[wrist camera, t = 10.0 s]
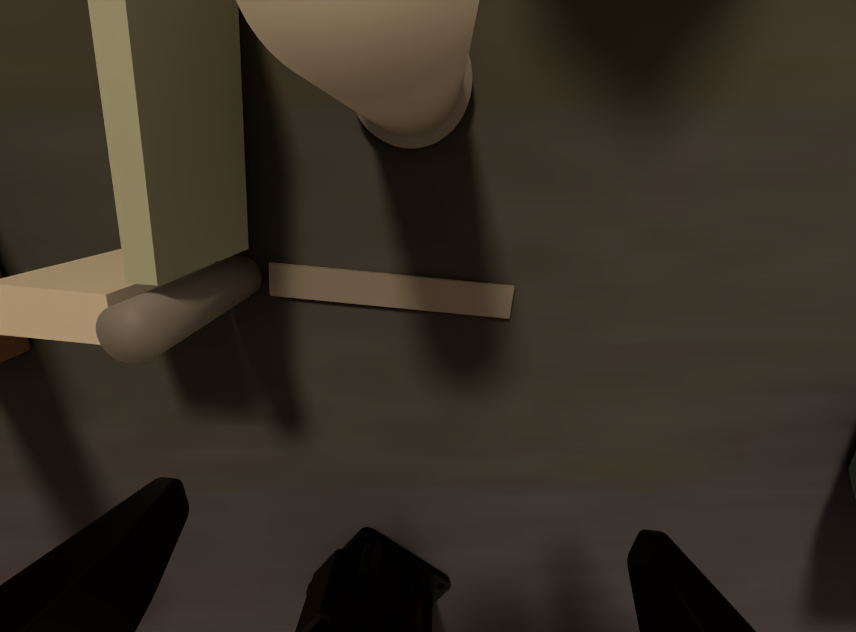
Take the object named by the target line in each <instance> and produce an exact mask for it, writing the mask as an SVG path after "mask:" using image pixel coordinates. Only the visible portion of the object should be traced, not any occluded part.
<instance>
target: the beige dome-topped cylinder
mask: <svg viewBox="0 0 856 632" xmlns="http://www.w3.org/2000/svg"><path fill="white" fill-rule="evenodd" d="M236 2H237V4H238V6H239V8H240V10H241V12H242V14H243V15H244V17H245V19H246V21H247V23H248V24H249V26H250V27H251V29H252V30H253V32H254V33H255V35H256V36H257V37H258V39H259V40H260V41H261V42H262V43H263V44H264V46H265V47H266V48H267V49H268V50H269V51H270V52H271V53H272V54H273V55H274V56H275V57H276V58H277V59H278V60H279V61H280V62H281V63H283V64H284V65H285V66H287V67H288V68H289V69H291V70H292V71H294V72H295V73H296V74H298V75H300V76H301V77H303V78H304V79H306V80H307V81H309V82H310V83H312V84H313V85H315V86H317V87H318V88H320V89H321V90H323V91H324V92H326V93H327V94H329V95H331V96H332V97H334V98H335V99H337V100H338V101H340V102H341V103H343V104H345V105H346V106H348V107H349V108H351V109H352V110H354V111H355V112H356V114H357V116H358V117H359V119H360V121H361V122H362V123H363V124H364V126H365V127H366V128H367V129H368V130H369V131H370V132H371V133H372V134H373V135H375V136H376V137H377V138H379V139H380V140H382V141H384V142H386V143H388V144H391V145H393V146H396V147H400V148H407V149H416V148H423V147H427V146H430V145H433V144H435V143H437V142H439V141H440V140H442V139H443V138H445V137H446V136H447V135H448V134H450V133H451V132H452V131H453V130H454V128H455V127H456V126H457V125H458V123H459V122H460V120H461V119H462V117H463V115H464V113H465V111H466V108H467V105H468V102H469V99H470V95H471V90H472V67H471V61H470V57H469V49H470V44H471V39H472V34H473V29H474V24H475V19H476V14H477V9H478V4H479V0H236Z"/></svg>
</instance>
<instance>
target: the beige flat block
mask: <svg viewBox="0 0 856 632" xmlns="http://www.w3.org/2000/svg"><path fill="white" fill-rule="evenodd" d="M88 6H89V13H90V21H91V28H92V35H93V42H94V50H95V57H96V64H97V72H98V79H99V86H100V94H101V101H102V108H103V116H104V123H105V130H106V138H107V145H108V152H109V160H110V167H111V174H112V182H113V189H114V196H115V204H116V211H117V218H118V226H119V233H120V240H121V248H122V255H123V262H124V270H125V277H126V283H134V284H144V285H154V286H158V285H161V284H163V283H166V282H168V281H171V280H173V279H176V278H178V277H181V276H183V275H185V274H188V273H190V272H193V271H195V270H198V269H200V268H203V267H205V266H208V265H210V264H213V263H215V262H217V261H220V260H222V259H225V258H227V257H230V256H232V255H235V254H237V253H240V252H242V251H245V250H247V249H249V245H248V222H247V198H246V175H245V152H244V128H243V105H242V81H241V58H240V35H239V11H238V4H237V2H236V0H88Z"/></svg>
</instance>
